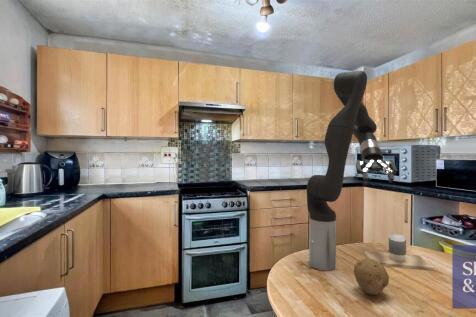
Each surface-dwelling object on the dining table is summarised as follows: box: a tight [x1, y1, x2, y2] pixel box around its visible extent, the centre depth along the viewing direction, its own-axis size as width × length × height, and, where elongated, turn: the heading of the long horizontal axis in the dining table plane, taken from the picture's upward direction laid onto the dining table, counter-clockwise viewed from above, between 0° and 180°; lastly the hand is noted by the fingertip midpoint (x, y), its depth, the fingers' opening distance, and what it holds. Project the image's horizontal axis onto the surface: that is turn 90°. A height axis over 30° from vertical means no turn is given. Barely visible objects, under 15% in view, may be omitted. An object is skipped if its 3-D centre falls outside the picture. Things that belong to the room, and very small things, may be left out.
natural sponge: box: [353, 257, 390, 296], centre depth 72 cm, size 9×9×10 cm
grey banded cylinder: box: [388, 233, 407, 262], centre depth 94 cm, size 6×6×9 cm
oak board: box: [363, 250, 436, 271], centre depth 94 cm, size 20×11×1 cm, turn 76°
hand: (379, 181), depth 96 cm, fingers open, 8 cm apart
